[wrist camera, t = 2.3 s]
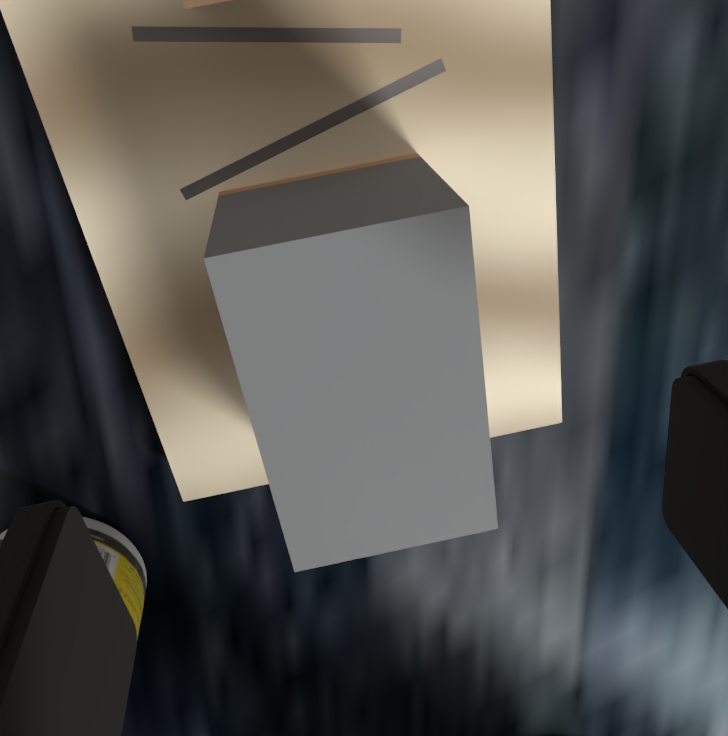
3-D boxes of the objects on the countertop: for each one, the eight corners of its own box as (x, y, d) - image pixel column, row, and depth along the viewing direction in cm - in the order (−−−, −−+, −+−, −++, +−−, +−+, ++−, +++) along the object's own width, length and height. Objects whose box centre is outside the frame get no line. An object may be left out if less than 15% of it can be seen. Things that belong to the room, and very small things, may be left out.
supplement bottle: (35, 643, 25) (-83, 973, 17) (-49, 537, 23) (-239, 864, 14) (176, 599, 25) (129, 910, 17) (107, 487, 23) (10, 788, 14)
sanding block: (449, 418, 21) (498, 528, 17) (288, 452, 21) (294, 572, 17) (417, 153, 17) (468, 205, 13) (219, 191, 17) (203, 258, 13)
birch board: (545, 398, 23) (562, 422, 22) (188, 472, 23) (183, 501, 21) (502, -634, 12) (530, -709, 11) (-171, -528, 12) (-224, -593, 11)
